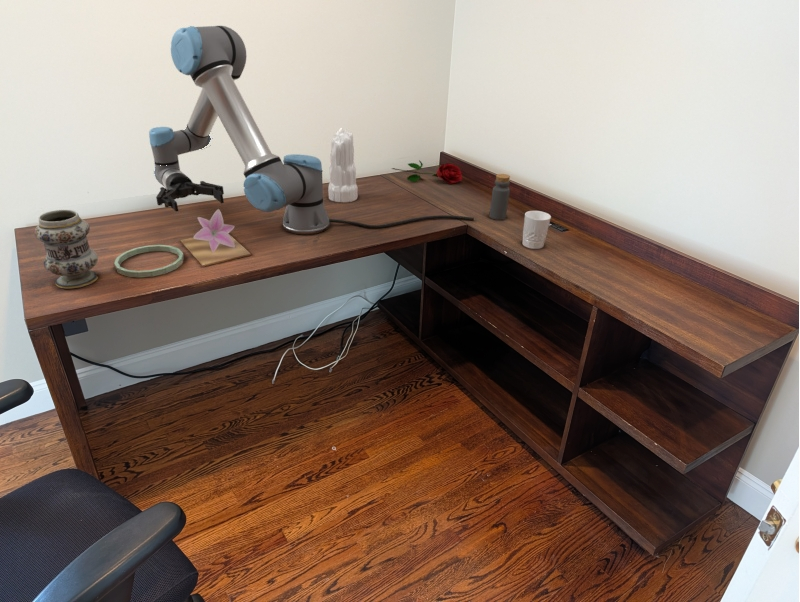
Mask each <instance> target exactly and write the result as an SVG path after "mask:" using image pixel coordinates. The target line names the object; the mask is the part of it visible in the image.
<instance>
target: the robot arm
mask: <svg viewBox="0 0 800 602" xmlns="http://www.w3.org/2000/svg"><path fill="white" fill-rule="evenodd" d="M170 56H171V59H172V63H173V65H174V67H175V68H176V70H177V71H178V72H179V73H182V74H183V75H186V76H190V77H191V79H192V81H193V83H194V85H195V86H196V87H199V88H201V90H200V93H199V96H198V97H197V101H196V102H195V105H194V107H193V109H192V111H191V114H190V117H189V119H188V122H187V124H186V126H187V127H185V128H186V129H185V128H184V129H185V130H183V129H180V130H173V128H172V127H169V126H156V127H152V128H151V129H149V131H148V136H149V137H148V138H149V144H150V147H151V151H152V155H153V156H152V157H153V162H154V163H153V164H154V168H155V171H154V170H153V175H154V174H155V175H154V178H155V179H156V180H157V182H158V183H159V184H160V185H162V186H161V187H159V190H160V191H159V192H158V193H157V195H156V196H155V198H156V203H157V206H162V205H164V208H169V207H170V208H172V209H173V210H174V211H175V212H179V206H178V201H176V199H177V200H178V199H185V198H187V197H189V196H199V195H204V196H212V197H213V198H214V199H215V200H216V201H218V202H219V203H220V204H224V203H225V201H224V194H225V192H224V191H225V190H224V186H223V185H219V184H214V183H209V182H206V181H204V180H200V181H199V183H194V182H193V181H192V179H191V178H190V177H189V176H188V175H186V174H185V173H184V172H182V171H181V168H180V162H179V156H180V155H184V154H188V153H192V152H196V151H200V150H199V149H201V150H203V149H202V148H204V147H205V146H207V145H208V144H209V142H210V140H211V138H210V136H209V134H210V132H212V130H213V127H214V125H215V124H216V121H217V119H218V118H219V120H220V122H221V123H222V126H223V127H224V129H225V132H226V133H227V135H228V137H229V139H230V140H231V142H232V145H233V146H234V148H235V150H236V152H237V153H238V155H239V157H240V159H241V161H242V163H243V165H244V169H243V172H242V173H243V175H244V178H245V179H244V181H243V192H244V195H245V197H246V199H247V200H248V202H249V203H250V204H251V205H252V206H253V207H254V208H255V209H257V210H259V211H261V212H265V213H271V212H275V211H279V210H281V209H283V208H284V207H285V209H284V214H283V219H282V228H283V230H284V231H286V232H287V233H290V234H294V235H301V236H305V235H306V236H307V235H316V234H319V233H322V232H325V231H326V230H328V229H329V228H330V225H331V223H334V224H335V223H337V224H344V225H352V226H359V227H362V228H367V229H381V228H382V229H383V228H388V227H394V226H399V225H404V224H407V223H412V222H413V223H414V222H418V221H419V222H420V221H425V220H432V219H454V220H455V219H457V220H466V221H475V217H471V216H464V215H446V214H445V215H442V214H441V215H427V216H420V217H416V218H408V219H405V220H400V221H395V222H390V223H384V224H365V223H361V222H358V221H351V220H343V219H335V218H330V217H329V214H328V212H327V209H326V207H325V204H324V188H323V187H324V186H323V185H324V184H323V183H324V182H323V172H324V171H323V166H322V161H321V159H320V158H318V157H316V156H313V155H308V154H297V153H295V154H286V155H285V156H283V160H282V159H281V157H280V156H279V155H277V154H274V153H273V152H272V151H271V149H270V148H269V146H268V144H267V141H266V140H265V138H264V136H263V134H262V132H261V130H260V128H259V126H258V124H257V122H256V120H255V118H254V117H253V115H252V113H251V111H250V109H249V107H248V105H247V103H246V102H245V100H244V98H243V96H242V94H241V92H240V90H239V88H238V86H237V84H236V82H235V81H236V80H238V79H240V78H241V76H242V74H243V72H244V69H245V67H246V64H247V56H248V55H247V47H246V44H245V42H244V40H243V38H242V36H241V35H239V33H238V32H236V31H235V30H234V29H232V28H231V27H228V26H226V25H213V26H212V25H209V26H193V25H189V26H188V27H180V28H179V29H177V30H176V31H175V32H174V33H173V34H172V38H171V41H170ZM204 149H205V148H204ZM160 165H161V166H160ZM166 165H167V166H166Z"/></svg>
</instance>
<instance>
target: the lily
mask: <svg viewBox="0 0 800 602" xmlns="http://www.w3.org/2000/svg"><path fill="white" fill-rule="evenodd" d="M197 220H198V222H199V224H200V226H201V227H202V228H200V230H198V231H197V232H196V233H195V234H194V235H193V237H192V238H194V239H197V240H206V241H209V244H210V248H211V251H212V252H214V251H215V250H216V249H217V247H218V245H219V243H221V244H223V245H226V246H229V247H233V248H234V247H235V244H234V242H233V240H232V238H231V237H230V235H231V234H230V233H231V232H232V231H233V230H234V229H235V225H233V224H228V223H224V216H223V214H222V212H221V210H220V209H219V208H218V209H216V210H215V211H214V213H213V215H212V216H211V217H210V219H207V218H204V217H200V216H197ZM228 233H229V234H230V235H229V234H228Z"/></svg>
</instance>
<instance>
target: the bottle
mask: <svg viewBox="0 0 800 602" xmlns="http://www.w3.org/2000/svg"><path fill="white" fill-rule="evenodd" d="M495 178H496V179H495V180H494V184H495V185H494V186H493V187H492V193H491V201H490V209H489V218H490V219H492V220H496V221H503V220H506V218H507V213H508V206H509V198H510V192H511V188H510V187H509V186H510V184H511V181H510V178H511V176H510V175H509V174H505V173H498V174H496V175H495Z"/></svg>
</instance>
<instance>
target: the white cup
mask: <svg viewBox="0 0 800 602" xmlns="http://www.w3.org/2000/svg"><path fill="white" fill-rule="evenodd" d="M551 219H552V216H551V214H549V213H548V212H544V211H541V210H529V211H526V212H525V213H524V219H523V228H522V241H521V244H522V245H523V247H526V249H527V248H528V249H532V250H539V249H542V248H544V246H545V242H546V238H547V235H548V231H549V227H550V223H551Z"/></svg>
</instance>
